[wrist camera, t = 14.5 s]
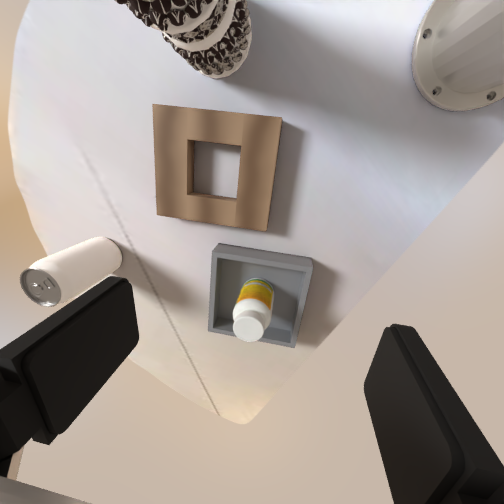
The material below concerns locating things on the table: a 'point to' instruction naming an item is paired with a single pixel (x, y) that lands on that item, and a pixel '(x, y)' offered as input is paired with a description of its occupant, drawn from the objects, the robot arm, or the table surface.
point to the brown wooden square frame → (182, 164)
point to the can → (70, 271)
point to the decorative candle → (201, 31)
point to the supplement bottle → (253, 310)
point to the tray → (270, 269)
